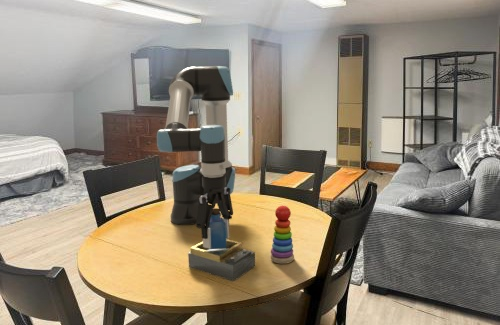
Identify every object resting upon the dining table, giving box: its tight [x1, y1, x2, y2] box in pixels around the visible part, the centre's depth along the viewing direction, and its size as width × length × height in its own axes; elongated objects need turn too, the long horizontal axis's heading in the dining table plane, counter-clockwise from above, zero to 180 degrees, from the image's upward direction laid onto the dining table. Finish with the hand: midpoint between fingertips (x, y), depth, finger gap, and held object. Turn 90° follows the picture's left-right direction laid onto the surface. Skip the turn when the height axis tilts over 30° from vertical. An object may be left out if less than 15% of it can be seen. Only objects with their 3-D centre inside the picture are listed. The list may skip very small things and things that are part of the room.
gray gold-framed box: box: [187, 238, 256, 282], centre depth 136 cm, size 18×12×7 cm, turn 56°
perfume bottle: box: [207, 207, 227, 249], centre depth 136 cm, size 6×6×12 cm
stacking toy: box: [269, 205, 295, 265], centre depth 140 cm, size 8×8×19 cm
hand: (216, 242), depth 137 cm, fingers closed on perfume bottle, 9 cm apart
